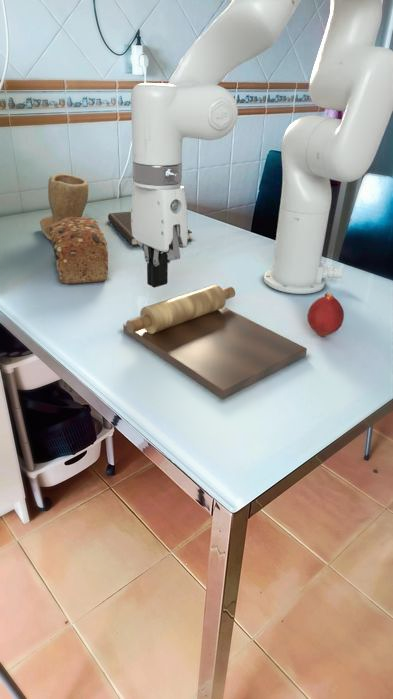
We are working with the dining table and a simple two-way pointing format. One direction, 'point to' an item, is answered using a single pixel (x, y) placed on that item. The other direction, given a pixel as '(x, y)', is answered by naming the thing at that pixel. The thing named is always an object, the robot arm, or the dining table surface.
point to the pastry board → (222, 350)
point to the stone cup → (64, 199)
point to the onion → (325, 315)
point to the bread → (79, 250)
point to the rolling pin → (180, 309)
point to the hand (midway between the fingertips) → (157, 284)
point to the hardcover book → (127, 226)
